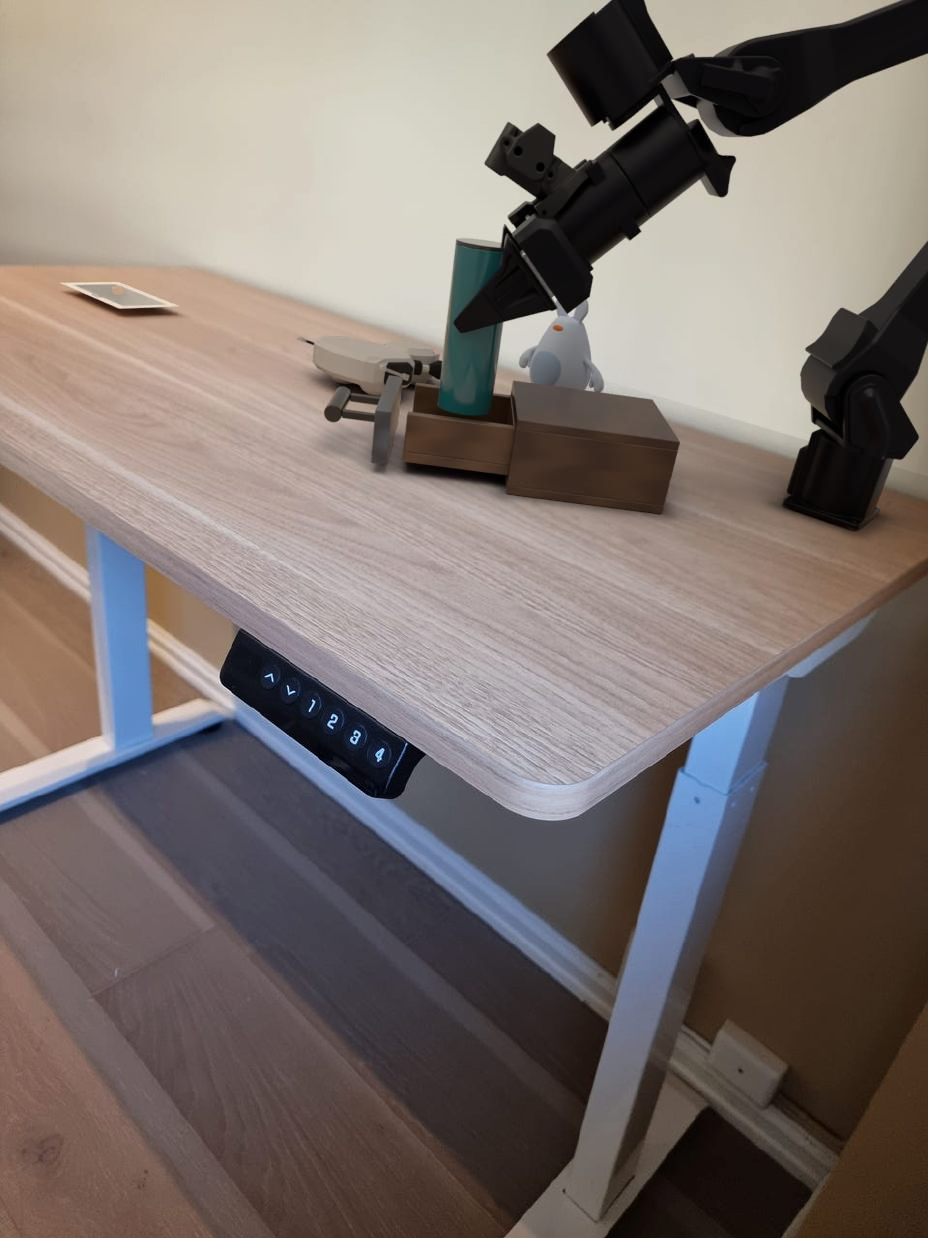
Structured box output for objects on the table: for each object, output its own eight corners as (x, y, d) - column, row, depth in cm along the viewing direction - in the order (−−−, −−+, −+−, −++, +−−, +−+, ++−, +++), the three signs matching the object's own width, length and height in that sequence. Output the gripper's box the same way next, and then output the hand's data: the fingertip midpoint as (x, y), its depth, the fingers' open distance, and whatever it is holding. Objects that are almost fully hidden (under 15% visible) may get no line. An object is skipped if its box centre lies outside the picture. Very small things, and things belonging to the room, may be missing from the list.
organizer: (505, 493, 69) (517, 419, 66) (502, 445, 80) (512, 380, 77) (662, 514, 70) (680, 441, 67) (637, 463, 80) (652, 399, 78)
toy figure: (493, 406, 91) (511, 283, 86) (531, 400, 95) (550, 283, 90) (574, 436, 85) (600, 307, 80) (611, 428, 90) (637, 305, 84)
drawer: (316, 455, 68) (319, 402, 66) (337, 416, 78) (340, 368, 76) (516, 482, 69) (524, 429, 67) (511, 439, 79) (519, 392, 77)
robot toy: (391, 372, 101) (288, 374, 90) (397, 331, 100) (292, 329, 89) (472, 401, 95) (371, 407, 84) (480, 358, 93) (378, 359, 82)
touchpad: (119, 290, 118) (118, 273, 117) (179, 315, 110) (179, 297, 108) (60, 291, 113) (59, 273, 112) (119, 317, 104) (118, 298, 103)
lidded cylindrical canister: (495, 417, 71) (520, 250, 65) (441, 413, 70) (461, 243, 64) (485, 402, 74) (507, 242, 69) (433, 397, 74) (451, 235, 68)
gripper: (553, 89, 69) (401, 222, 74) (575, 74, 53) (377, 246, 58) (631, 212, 74) (481, 331, 78) (673, 233, 57) (481, 382, 62)
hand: (457, 322), depth 69 cm, fingers closed on lidded cylindrical canister, 4 cm apart
